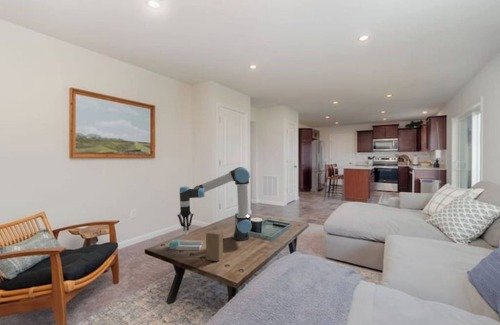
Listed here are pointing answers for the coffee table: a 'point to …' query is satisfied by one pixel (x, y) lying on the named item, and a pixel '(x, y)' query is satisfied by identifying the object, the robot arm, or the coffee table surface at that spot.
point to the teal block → (174, 244)
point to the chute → (190, 245)
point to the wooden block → (214, 244)
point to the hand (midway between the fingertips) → (186, 234)
